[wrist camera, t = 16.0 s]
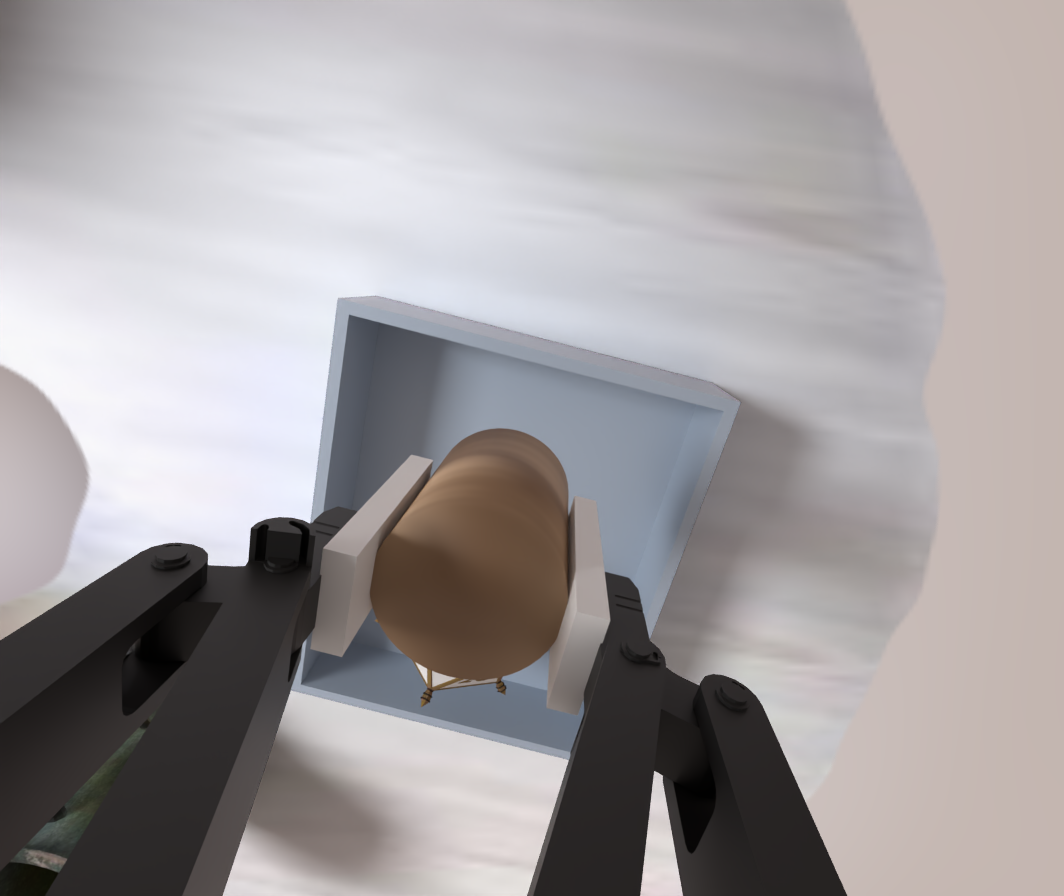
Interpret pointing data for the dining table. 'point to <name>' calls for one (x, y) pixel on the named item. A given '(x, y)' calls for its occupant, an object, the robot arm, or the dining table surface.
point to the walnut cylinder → (479, 560)
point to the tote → (528, 406)
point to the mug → (64, 829)
